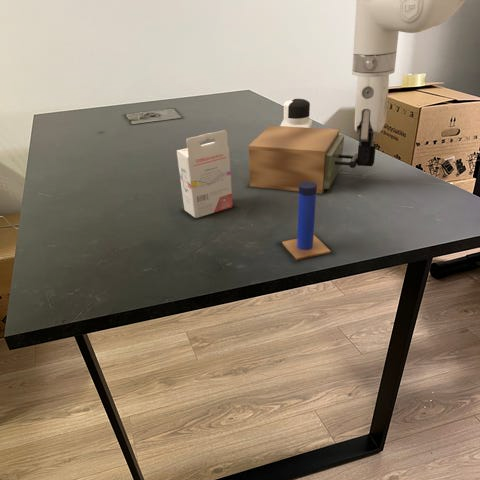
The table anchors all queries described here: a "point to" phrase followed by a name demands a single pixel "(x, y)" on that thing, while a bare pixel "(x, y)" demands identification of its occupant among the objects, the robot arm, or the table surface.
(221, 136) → the ink cartridge box
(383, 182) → the table surface
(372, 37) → the robot arm
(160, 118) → the mousepad
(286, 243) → the coaster
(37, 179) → the table surface
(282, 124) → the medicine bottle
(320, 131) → the cabinet
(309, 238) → the marker
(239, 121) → the table surface
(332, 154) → the drawer
